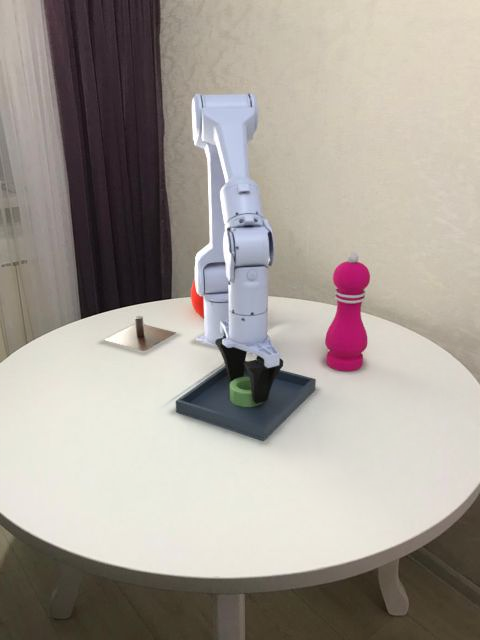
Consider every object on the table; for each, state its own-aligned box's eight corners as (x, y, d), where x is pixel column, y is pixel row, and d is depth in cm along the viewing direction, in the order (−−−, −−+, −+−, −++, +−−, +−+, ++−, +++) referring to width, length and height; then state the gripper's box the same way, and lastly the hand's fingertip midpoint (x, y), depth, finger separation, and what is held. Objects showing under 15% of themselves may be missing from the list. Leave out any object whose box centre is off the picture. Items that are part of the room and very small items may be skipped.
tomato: (181, 315, 126) (179, 276, 122) (219, 302, 132) (219, 265, 129) (213, 329, 118) (212, 288, 115) (252, 315, 125) (253, 276, 121)
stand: (137, 325, 121) (135, 304, 119) (176, 335, 116) (175, 314, 114) (103, 342, 113) (101, 321, 111) (144, 354, 108) (142, 331, 106)
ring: (241, 386, 95) (241, 373, 94) (270, 395, 93) (271, 381, 92) (223, 401, 91) (223, 387, 90) (253, 410, 89) (253, 396, 88)
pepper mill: (363, 355, 107) (373, 247, 98) (367, 373, 100) (378, 259, 92) (322, 354, 107) (329, 246, 99) (324, 372, 101) (332, 258, 92)
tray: (235, 368, 103) (235, 357, 102) (315, 389, 95) (315, 378, 94) (176, 412, 89) (175, 400, 88) (263, 441, 82) (264, 429, 81)
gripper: (201, 298, 90) (204, 377, 96) (249, 331, 78) (248, 418, 84) (242, 290, 93) (242, 367, 99) (293, 321, 81) (290, 406, 87)
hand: (247, 390), depth 91 cm, fingers open, 7 cm apart
